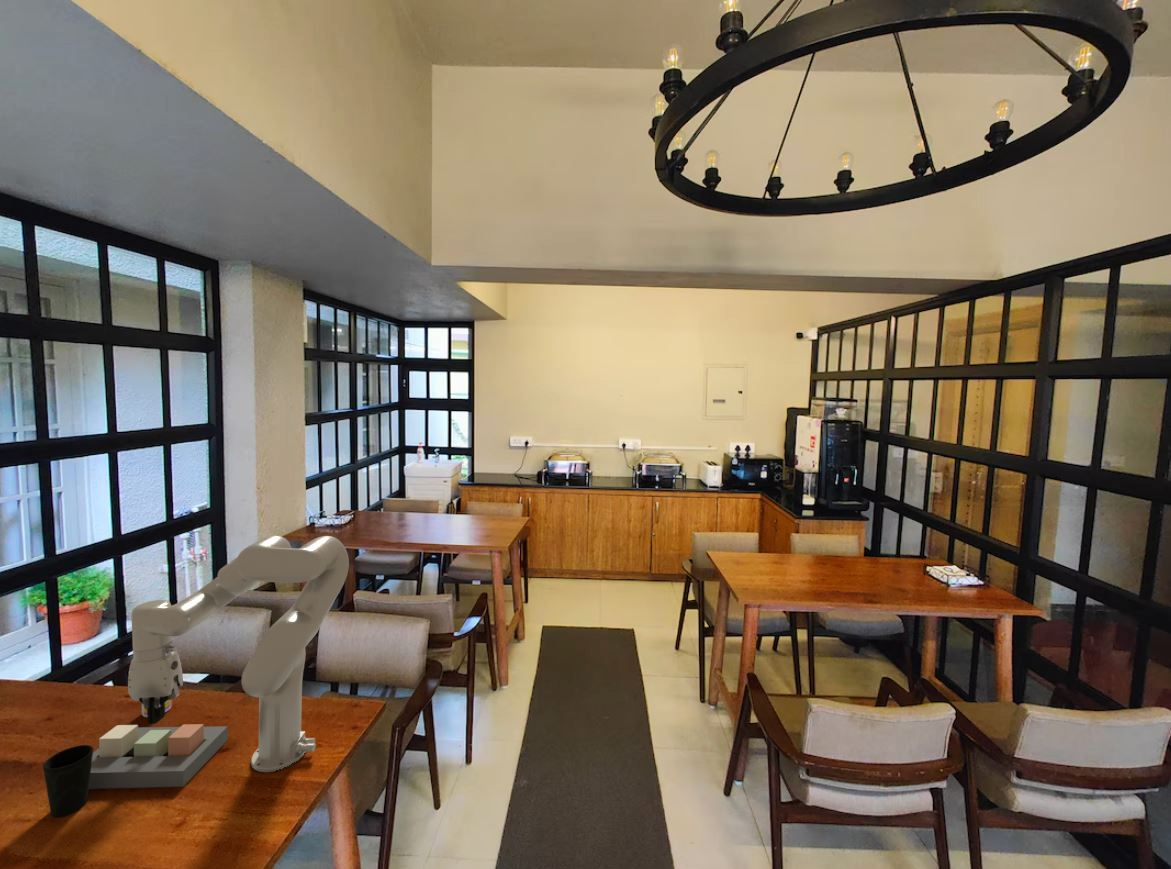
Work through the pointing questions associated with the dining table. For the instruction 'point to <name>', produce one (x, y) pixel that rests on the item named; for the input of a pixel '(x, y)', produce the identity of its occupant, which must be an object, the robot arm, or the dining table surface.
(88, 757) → the cup
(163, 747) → the green button
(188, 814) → the dining table surface
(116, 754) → the cream button
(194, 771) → the console
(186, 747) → the terracotta button
